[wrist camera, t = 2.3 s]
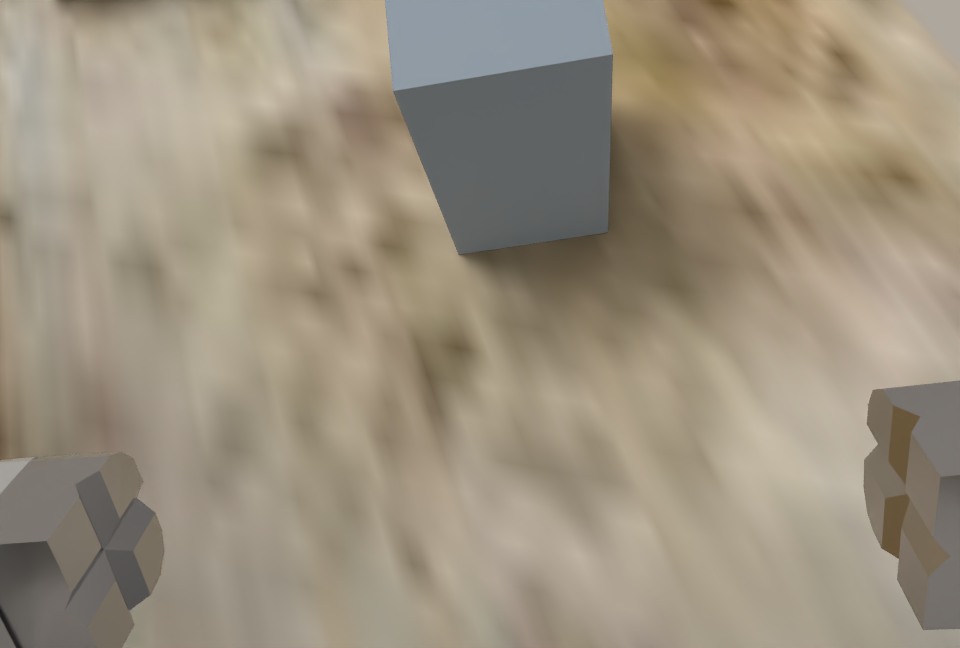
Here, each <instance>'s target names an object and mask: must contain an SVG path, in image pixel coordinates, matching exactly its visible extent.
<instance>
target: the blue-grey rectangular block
mask: <svg viewBox="0 0 960 648" xmlns="http://www.w3.org/2000/svg"><path fill="white" fill-rule="evenodd" d="M385 6H386V17H387V29H388V40H389V51H390V63H391V74H392V86H393V92H394V95H395V97H396V100H397V102H398V105H399V107H400V110H401V112H402V115H403V117H404V120H405V122H406V125H407V127H408V130H409V132H410V135H411V137H412V140H413V142H414V145H415V147H416V150H417V152H418V155H419V157H420V160H421V162H422V164H423V167H424V169H425V172H426V174H427V177H428V179H429V182H430V184H431V187H432V189H433V192H434V194H435V197H436V199H437V202H438V204H439V207H440V209H441V212H442V214H443V217H444V219H445V222H446V224H447V227H448V229H449V232H450V234H451V237H452V239H453V242H454V244H455V247H456V249H457V252H458V254H459V255H460V254H467V253H474V252H481V251H487V250H494V249H501V248H507V247H514V246H521V245H527V244H534V243H541V242H548V241H554V240H561V239H568V238H574V237H581V236H588V235H594V234H601V233H608V216H609V179H610V141H611V104H612V66H613V53H612V47H611V41H610V36H609V30H608V25H607V19H606V14H605V8H604V3H603V0H385Z"/></svg>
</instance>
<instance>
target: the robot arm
mask: <svg viewBox="0 0 960 648" xmlns="http://www.w3.org/2000/svg"><path fill="white" fill-rule="evenodd" d="M867 425H868V427H869V429H870V431H871V432H872V434H873V436H874V438H875V439H876V441H877V443H878V445H877V446H876V447H875V448H874V449H873V450H872V452H871V453H870V454H869V455H868V456H867V457H866V458H865V460H864V493H865V500H866V508H867V513H868V516H869V519H870V523H871V526H872V529H873V532H874V534H875V536H876V538H877V540H878V542H879V544H880V546H881V548H882V549H884V550H885V551H887V552H889V553H890V554H892V555H893V556H895V557H897V558H898V559H899V564H898V576H897V580H898V582H899V584H900V586H901V588H902V590H903V592H904V594H905V596H906V598H907V600H908V602H909V604H910V606H911V608H912V610H913V612H914V613H915V615H916V617H917V619H918V621H919V623H920V625H921V627H922V629H923V630H935V629H960V381H952V382H943V383H933V384H924V385H914V386H905V387H895V388H886V389H876V390H873V391H872V394H871V397H870V401H869V404H868V416H867ZM142 484H143V480H142V477H141V475H140V473H139V471H138V468H137V466H136V464H135V461H134V459H133V458H132V457H130V456H128V455H126V454H125V453H123V452H107V453H91V454H75V455H59V456H43V457H40V458H39V457H27V458H17V459H7V460H1V461H0V648H122V647H123V645H124V643H125V641H126V639H127V638H128V636H129V634H130V632H131V630H132V628H133V627H134V622H133V619H132V617H131V614H130V610H131V609H132V608H134V607H135V606H136V605H137V604H139V603H140V602H141V601H143V600H144V599H145V598H147V597H148V596H149V595H151V593H152V591H153V589H154V587H155V585H156V583H157V581H158V579H159V577H160V575H161V569H162V562H163V556H164V543H163V535H162V529H161V527H160V524H159V521H158V518H157V516H156V513H155V512H154V511H152V510H151V509H150V508H149V507H147V506H146V505H145V504H143V503H142V502H141V501H140V500H138V499H137V496H138V494H139V491H140V489H141V487H142Z"/></svg>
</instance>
